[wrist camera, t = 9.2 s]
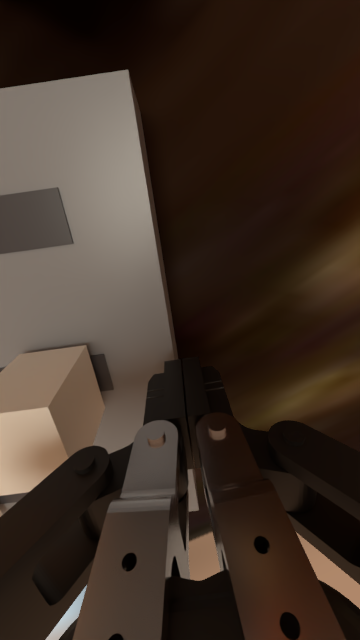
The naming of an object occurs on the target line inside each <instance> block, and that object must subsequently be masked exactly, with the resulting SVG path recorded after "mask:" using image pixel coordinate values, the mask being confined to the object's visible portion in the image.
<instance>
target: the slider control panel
mask: <svg viewBox="0 0 360 640" xmlns="http://www.w3.org/2000/svg"><path fill="white" fill-rule="evenodd" d="M83 345H86V346H87V350H88V353H89V356H90V360H91V363H92V366H93V369H94V373H95V376H96V379H97V383H98V386H99V389H100V393H101V396H102V399H103V403H104V406H105V409H104V412H103V415H102V419H101V422H100V425H99V428H98V431H97V434H96V437H95V440H94V443H93V446H101V447H103V448H105V449H106V450H107V452H108V454H110V453H113V452H115V451H117V450H120V449H122V448H124V447H126V446H128V445H130V444H131V443H132V442H134V438H135V435H136V433H137V432H138V430H139V429H140V428H141V427H143V422H144V413H145V405H146V396H147V387H148V382H149V380H150V379H151V377H152V376H153V375H154V374H159V373H164V361H170V360H177V359H178V353H177V347H176V340H175V334H174V327H173V321H172V314H171V308H170V301H169V295H168V288H167V282H166V275H165V269H164V262H163V256H162V249H161V243H160V236H159V230H158V223H157V217H156V211H155V204H154V198H153V191H152V185H151V178H150V172H149V165H148V159H147V152H146V146H145V139H144V133H143V126H142V120H141V113H140V109H139V106H138V103H137V99H136V96H135V92H134V89H133V85H132V82H131V78H130V75H129V71H128V70H122V71H115V72H109V73H102V74H95V75H89V76H82V77H75V78H69V79H62V80H55V81H49V82H42V83H35V84H29V85H22V86H15V87H9V88H2V89H0V372H1V371H2V370H3V369H4V368H5V367H6V366H8V365H9V364H10V363H11V362H12V361H13V360H14V359H15V358H16V357H17V356H18V355H19V354H24V353H32V352H39V351H46V350H54V349H61V348H69V347H76V346H83ZM191 445H192V444H191ZM192 455H193V451H192ZM193 465H194V457H193ZM188 481H189V484H188V493H189V511H197V510H199V507H198V497H197V487H196V477H195V467H194V469H188ZM27 493H29V492H26V493H18V494H10V495H3V496H0V511H1V512H2V514H4V513H5V512H7V511H8V510H9V509H10V508H11V507H12V506H14V505H15V504H16V503H17V502H18V501H19V500H20V499H22V498H23V497H24V496H25V495H26V494H27Z"/></svg>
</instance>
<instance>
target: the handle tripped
mask: <svg viewBox="0 0 360 640" xmlns="http://www.w3.org/2000/svg"><path fill="white" fill-rule="evenodd" d="M104 409H105V406H104V403H103V399H102V396H101V393H100V389H99V386H98V383H97V379H96V376H95V373H94V369H93V366H92V363H91V360H90V356H89V353H88V350H87V346H86V345H83V346H76V347H69V348H61V349H54V350H46V351H39V352H32V353H24V354H19V355H18V356H17V357H16V358H15V359H14V360H13V361H12V362H11V363H10V364H9V365H8V366H6V367H5V368H4V369H3V370H2V371H1V372H0V496H3V495H10V494H18V493H26V492H30V491H31V490H32V489H33V488H34V487H36V486H37V485H38V484H39V483H40V482H41V481H43V480H44V479H45V478H46V477H47V476H48V475H49V474H51V473H52V472H53V471H54V470H55V469H56V468H58V467H59V466H60V465H61V464H62V463H63V462H65V461H66V460H67V459H68V458H69V457H70V456H72V455H73V454H74V453H75V452H77V451H79V450H81V449H83V448H85V447H89V446H93V443H94V440H95V437H96V434H97V431H98V428H99V425H100V422H101V419H102V415H103V412H104Z"/></svg>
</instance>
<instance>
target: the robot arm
mask: <svg viewBox="0 0 360 640" xmlns="http://www.w3.org/2000/svg"><path fill="white" fill-rule="evenodd" d="M182 363H183V370H182ZM182 363H181V359H177V360H170V361H164V373H159V374H154V375H153V376H152V377H151V379H150V380H149V382H148V387H147V396H146V405H145V413H144V422H143V427H141V428H140V429H139V430H138V432H137V433H136V435H135V438H134V442H132V443H131V444H130V445H128V446H126V447H124V448H122V449H120V450H117V451H115V452H113V453H110V454H108V452H107V450H106V449H105V448H103V447H101V446H89V447H85V448H83V449H81V450H79V451H77V452H75V453H74V454H73V455H72V456H70V457H69V458H68V459H67V460H66V461H65V462H63V463H62V464H61V465H60V466H59V467H58V468H56V469H55V470H54V471H53V472H52V473H51V474H49V475H48V476H47V477H46V478H45V479H44V480H43V481H41V482H40V483H39V484H38V485H37V486H36V487H34V488H33V489H32V490H31V491H30V492H29V493H27V494H26V495H25V496H24V497H23V498H22V499H20V500H19V501H18V502H17V503H16V504H15V505H14V506H12V507H11V508H10V509H9V510H8V511H7V512H5V513H4V514H3V515H2V516H1V517H0V640H45V639H46V638H47V637H48V635H49V634H50V633H51V631H52V630H53V629H54V627H55V626H56V624H57V623H58V622H59V621H60V619H61V618H62V617H63V615H64V614H65V613H66V611H67V610H68V609H69V607H70V606H71V605H72V603H73V602H74V601H75V599H76V598H77V597H78V595H79V594H80V593H81V591H82V590H83V589H84V587H85V586H86V585H87V588H86V592H85V595H84V599H83V603H82V606H81V610H80V614H79V617H78V618H77V619H76V620H75V621H74V622H73V623H72V624H71V625H70V627H69V628H68V629H67V630H66V631H65V633H64V634H63V635H62V636H61V637H60V639H59V640H360V609H359V608H358V607H357V606H356V605H354V604H353V603H352V602H351V601H350V600H349V599H347V598H346V597H345V596H343V595H342V594H341V593H340V592H338V591H337V590H335V589H333V588H332V587H330V586H329V585H327V584H326V583H324V582H322V581H320V580H318V579H317V576H316V574H315V572H314V570H313V568H312V566H311V564H310V562H309V559H308V557H307V555H306V553H305V551H304V549H303V547H302V545H301V543H300V540H299V538H298V536H297V534H296V532H297V533H298V534H300V535H301V536H302V537H303V538H304V539H305V540H307V541H308V542H309V543H310V544H312V545H313V546H314V547H315V548H316V549H318V550H319V551H320V552H321V553H322V554H324V555H325V556H326V557H327V558H328V559H330V560H331V561H332V562H333V563H335V564H336V565H337V566H338V567H339V568H341V569H342V570H343V571H344V572H345V573H346V574H348V575H349V576H350V577H351V578H353V579H354V580H355V581H356V582H357V583H359V584H360V452H358V451H356V450H354V449H352V448H350V447H348V446H346V445H345V444H343V443H341V442H339V441H337V440H335V439H333V438H331V437H329V436H327V435H325V434H323V433H321V432H319V431H317V430H315V429H313V428H311V427H309V426H307V425H305V424H303V423H300V422H297V421H281V422H278V423H276V424H274V425H273V426H272V427H271V428H270V430H269V432H267V431H259V430H253V429H249V428H247V427H244V426H243V425H241V424H240V423H238V421H237V420H236V419H235V418H234V417H233V414H232V411H231V408H230V405H229V402H228V399H227V395H226V392H225V389H224V386H223V383H222V380H221V377H220V374H219V372H218V371H217V370H216V369H215V368H214V367H212V366H210V367H202V368H201V366H200V362H199V357H191V358H184V359H182ZM183 373H184V376H183ZM190 434H191V435H190ZM191 441H192V445H191ZM192 447H193V454H194V460H195V467H196V468H201V472H202V479H203V485H204V492H205V497H206V502H207V506H208V511H209V516H210V521H211V526H212V530H213V535H214V540H215V544H216V550H217V554H218V560H219V565H220V571H221V572H219V573H217V574H215V575H213V576H211V577H209V578H207V579H205V580H202V581H194V580H190V572H189V556H188V544H189V493H188V484H189V481H188V469H194V465H193V455H192ZM295 531H296V532H295Z"/></svg>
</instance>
